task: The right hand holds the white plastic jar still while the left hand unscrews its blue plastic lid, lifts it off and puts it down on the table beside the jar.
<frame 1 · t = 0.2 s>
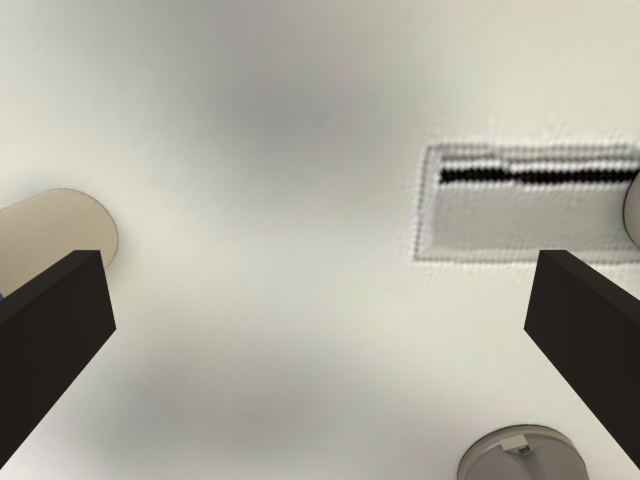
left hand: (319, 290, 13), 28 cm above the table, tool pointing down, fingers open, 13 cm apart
jar: (72, 233, 42), on the table
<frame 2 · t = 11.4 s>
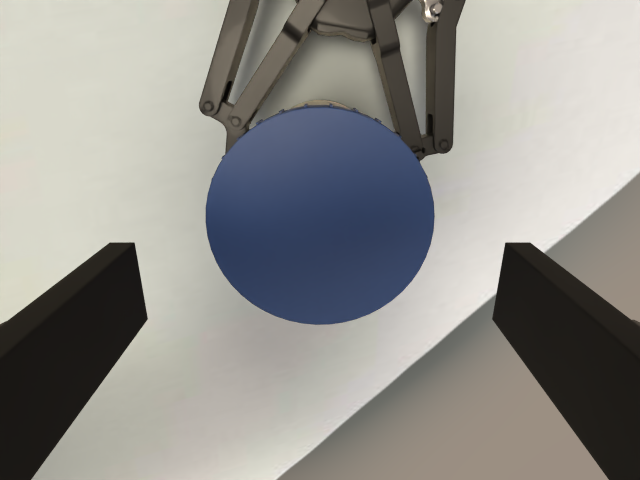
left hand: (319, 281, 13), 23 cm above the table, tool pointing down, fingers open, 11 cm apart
right hand: (310, 232, 31), fingers closed on jar, 9 cm apart
lid: (320, 224, 18), point 17 cm above the table, screwed on, not yet turned
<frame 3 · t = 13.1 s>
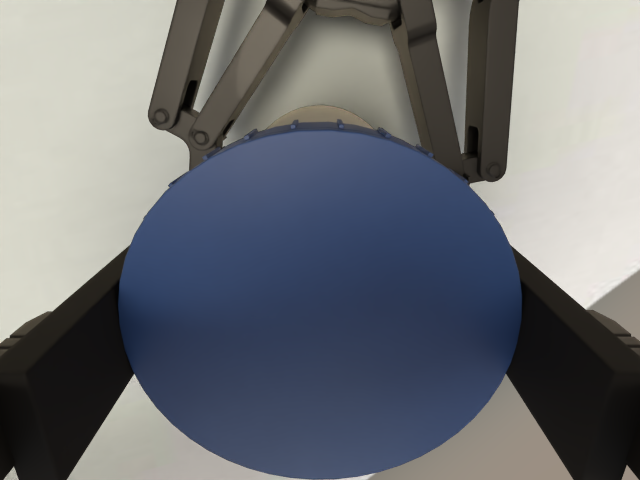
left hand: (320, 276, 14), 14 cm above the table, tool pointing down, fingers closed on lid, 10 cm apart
right hand: (307, 283, 23), fingers closed on jar, 9 cm apart
lid: (320, 327, 11), point 17 cm above the table, screwed on, not yet turned, touching left hand
jar: (319, 179, 27), on the table, touching right hand
when the left hand's fingers open (15 cm above the table, at t = 14.7 s): lid stays where it is, point 18 cm above the table.
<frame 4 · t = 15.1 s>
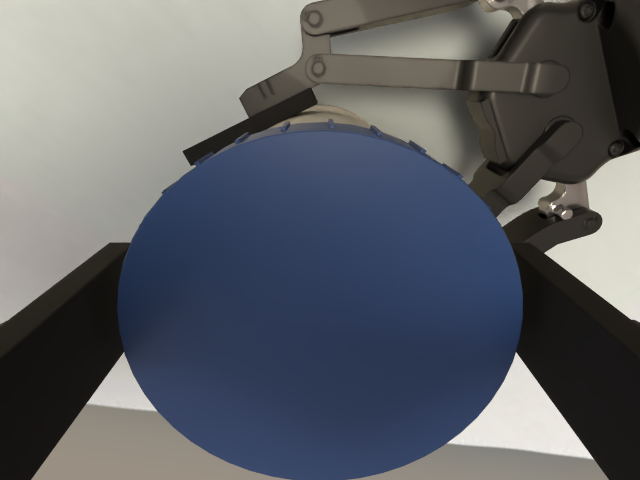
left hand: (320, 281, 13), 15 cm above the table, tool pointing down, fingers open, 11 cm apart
right hand: (243, 239, 22), fingers closed on jar, 9 cm apart
lid: (320, 328, 11), point 18 cm above the table, turned 94° so far, risen 0.2 cm, still on its thread
jar: (320, 178, 27), on the table, touching right hand
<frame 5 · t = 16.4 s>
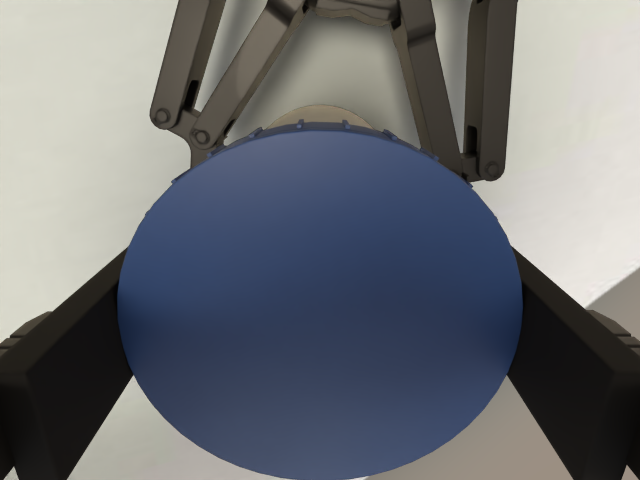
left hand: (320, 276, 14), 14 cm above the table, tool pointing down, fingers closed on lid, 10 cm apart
right hand: (307, 281, 23), fingers closed on jar, 9 cm apart
lid: (319, 328, 11), point 18 cm above the table, turned 94° so far, risen 0.2 cm, still on its thread, touching left hand
jar: (320, 178, 27), on the table, touching right hand
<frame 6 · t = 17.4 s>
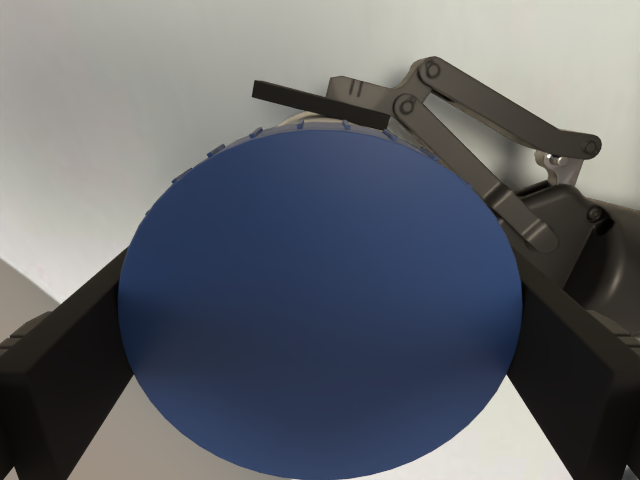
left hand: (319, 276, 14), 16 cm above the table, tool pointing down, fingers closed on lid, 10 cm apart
right hand: (240, 185, 22), fingers closed on jar, 9 cm apart
lid: (319, 327, 11), point 19 cm above the table, off its thread, touching left hand
jar: (321, 180, 28), on the table, touching right hand
when the left hand's fingers open (0 cm above the table, at t = 23.3 s): lid drops 2 cm, point 2 cm above the table.
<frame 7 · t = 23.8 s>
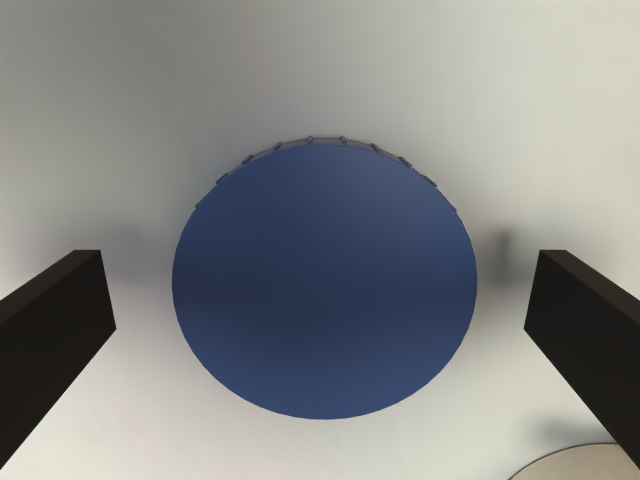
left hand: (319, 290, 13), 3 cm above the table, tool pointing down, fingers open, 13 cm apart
lid: (324, 294, 14), point 2 cm above the table, off its thread
when the right hand's fingers open (6 cm above the table, at t = 24.3 s): jar stays where it is, on the table.
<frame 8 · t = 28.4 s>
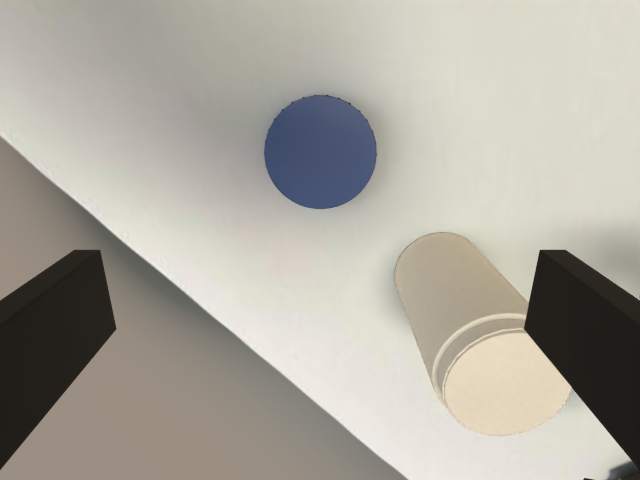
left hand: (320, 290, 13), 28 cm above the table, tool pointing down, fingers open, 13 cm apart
lid: (320, 154, 37), point 2 cm above the table, off its thread
jar: (438, 273, 43), on the table
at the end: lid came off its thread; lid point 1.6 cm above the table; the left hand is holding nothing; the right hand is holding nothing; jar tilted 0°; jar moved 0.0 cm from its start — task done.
